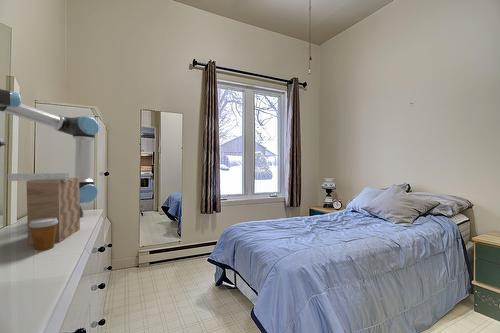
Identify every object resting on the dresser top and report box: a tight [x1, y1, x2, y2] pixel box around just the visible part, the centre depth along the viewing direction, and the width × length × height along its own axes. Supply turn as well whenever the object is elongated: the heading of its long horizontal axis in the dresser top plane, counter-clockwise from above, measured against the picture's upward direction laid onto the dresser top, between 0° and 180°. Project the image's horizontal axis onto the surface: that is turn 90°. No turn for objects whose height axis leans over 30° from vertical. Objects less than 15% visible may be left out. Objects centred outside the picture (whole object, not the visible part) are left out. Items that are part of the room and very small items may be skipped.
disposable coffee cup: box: [29, 218, 58, 252], centre depth 104 cm, size 10×10×12 cm
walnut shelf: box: [26, 176, 81, 246], centre depth 120 cm, size 22×12×28 cm, turn 14°
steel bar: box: [7, 172, 70, 182], centre depth 113 cm, size 4×22×3 cm, turn 105°
